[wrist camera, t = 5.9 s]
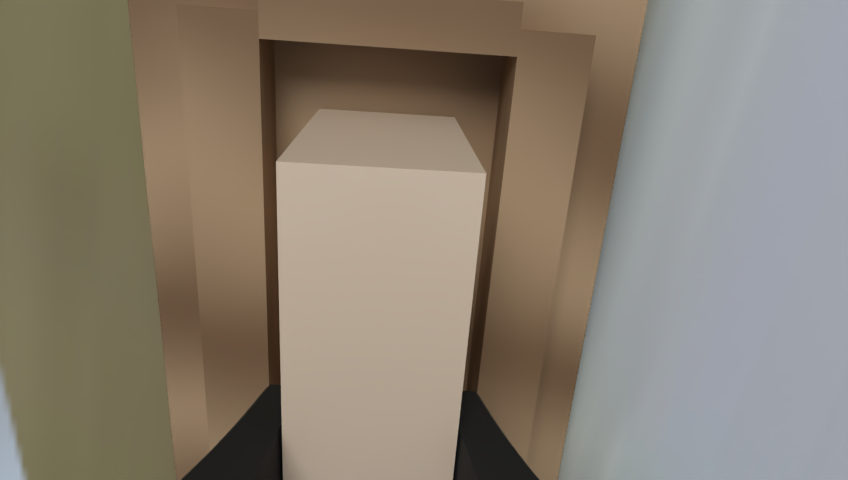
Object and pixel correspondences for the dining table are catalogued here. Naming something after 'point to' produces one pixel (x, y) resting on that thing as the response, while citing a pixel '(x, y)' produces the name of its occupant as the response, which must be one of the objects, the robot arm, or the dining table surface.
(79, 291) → the dining table surface
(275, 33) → the rack
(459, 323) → the clay bar
